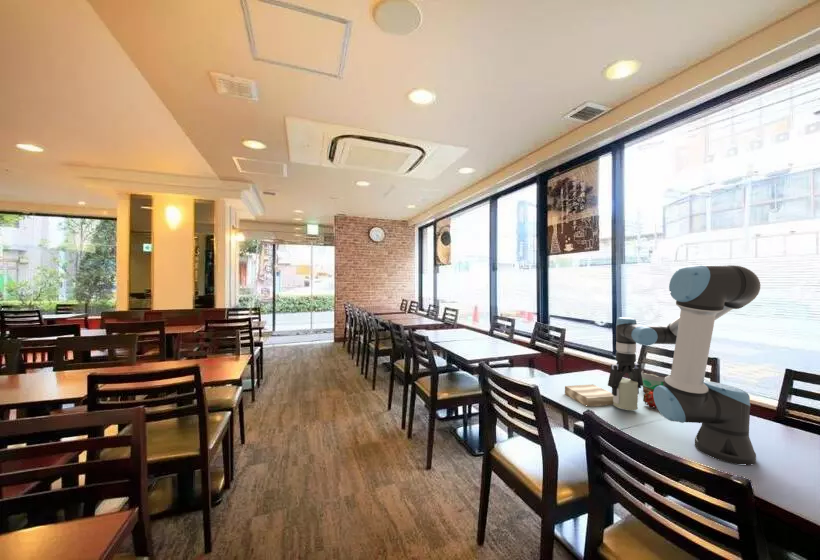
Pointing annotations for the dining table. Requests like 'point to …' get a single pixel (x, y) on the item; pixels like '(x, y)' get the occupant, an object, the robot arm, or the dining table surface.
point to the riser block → (589, 395)
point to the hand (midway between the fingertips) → (625, 401)
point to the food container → (651, 381)
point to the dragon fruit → (649, 399)
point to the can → (627, 394)
